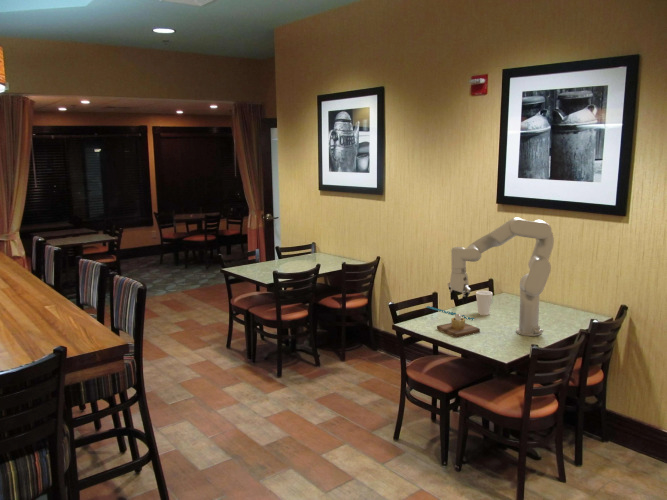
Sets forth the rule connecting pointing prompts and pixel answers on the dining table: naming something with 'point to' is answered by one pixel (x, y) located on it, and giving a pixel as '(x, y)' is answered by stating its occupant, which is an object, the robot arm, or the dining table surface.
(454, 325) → the brass ring
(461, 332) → the walnut board
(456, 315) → the steel post
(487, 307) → the foam cup
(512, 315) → the dining table surface
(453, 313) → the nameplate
